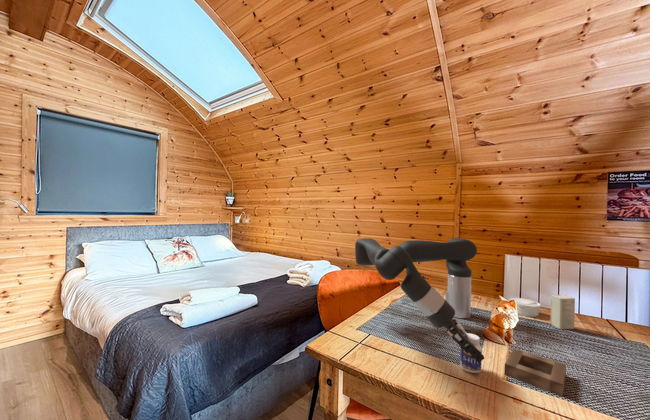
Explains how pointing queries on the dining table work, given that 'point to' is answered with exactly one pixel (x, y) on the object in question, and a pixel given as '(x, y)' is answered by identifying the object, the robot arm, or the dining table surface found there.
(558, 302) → the skincare box
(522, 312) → the ramekin
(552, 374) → the socket block
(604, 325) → the dining table surface
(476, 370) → the pill bottle
